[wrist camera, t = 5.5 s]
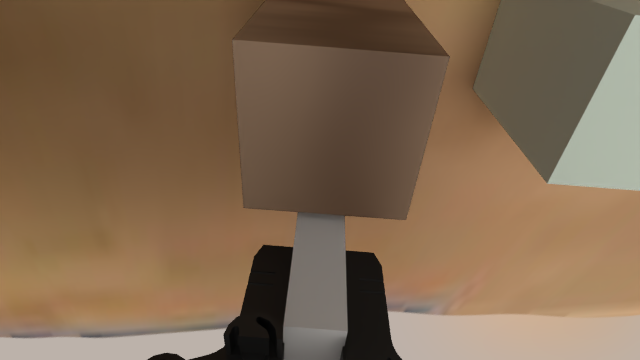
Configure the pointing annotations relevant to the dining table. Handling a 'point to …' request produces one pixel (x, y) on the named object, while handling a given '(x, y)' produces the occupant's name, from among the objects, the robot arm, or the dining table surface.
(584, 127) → the sage pillar
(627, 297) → the dining table surface
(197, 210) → the dining table surface
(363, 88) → the walnut pillar
